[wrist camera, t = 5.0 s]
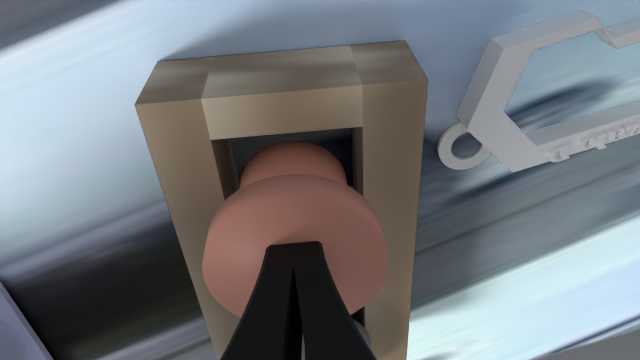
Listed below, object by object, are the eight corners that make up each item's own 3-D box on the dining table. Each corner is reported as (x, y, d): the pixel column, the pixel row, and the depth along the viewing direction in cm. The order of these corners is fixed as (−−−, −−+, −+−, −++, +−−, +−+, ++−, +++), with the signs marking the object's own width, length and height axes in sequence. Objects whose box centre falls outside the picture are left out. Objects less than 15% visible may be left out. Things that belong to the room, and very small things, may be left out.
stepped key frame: (811, -76, 15) (868, -68, 14) (770, 64, 18) (814, 83, 17) (417, 55, 16) (433, 75, 15) (438, 169, 19) (453, 194, 18)
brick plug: (231, 246, 17) (221, 336, 14) (203, 127, 14) (182, 208, 11) (367, 233, 17) (386, 320, 14) (367, 113, 14) (391, 190, 11)
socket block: (235, 342, 24) (230, 398, 22) (157, 61, 15) (134, 104, 13) (392, 327, 24) (404, 382, 22) (404, 40, 15) (428, 79, 13)
